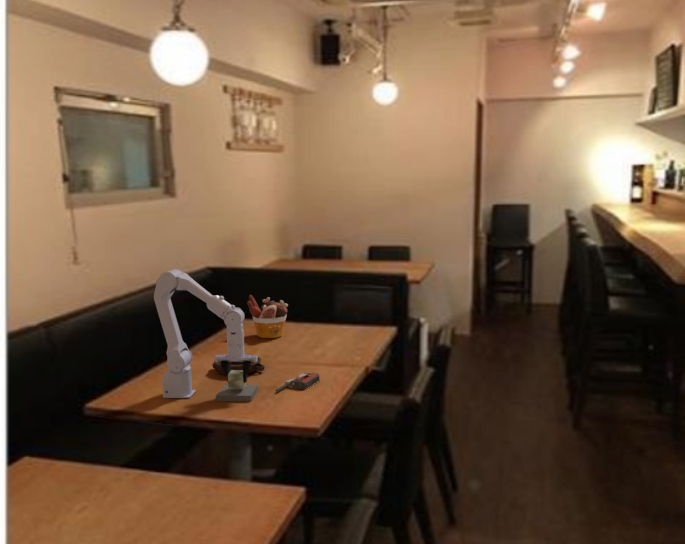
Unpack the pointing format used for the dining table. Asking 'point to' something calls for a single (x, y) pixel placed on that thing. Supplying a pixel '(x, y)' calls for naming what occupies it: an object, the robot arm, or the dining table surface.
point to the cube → (236, 379)
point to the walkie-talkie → (301, 381)
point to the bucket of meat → (268, 317)
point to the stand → (237, 393)
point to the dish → (240, 366)
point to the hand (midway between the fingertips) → (237, 381)
